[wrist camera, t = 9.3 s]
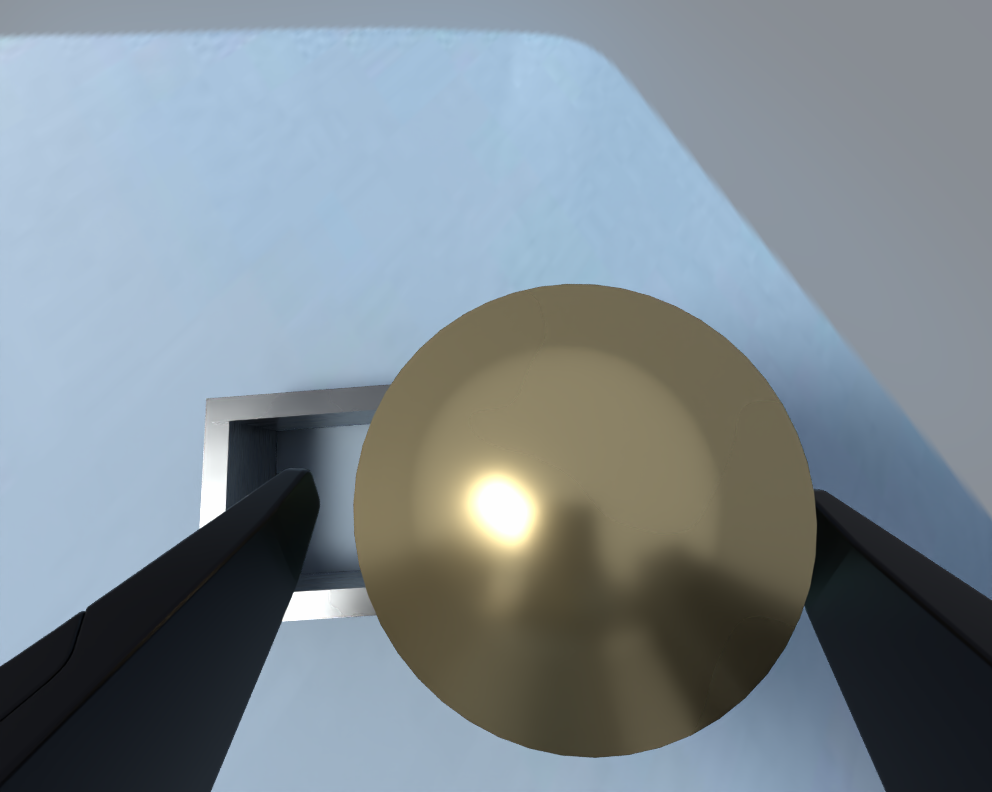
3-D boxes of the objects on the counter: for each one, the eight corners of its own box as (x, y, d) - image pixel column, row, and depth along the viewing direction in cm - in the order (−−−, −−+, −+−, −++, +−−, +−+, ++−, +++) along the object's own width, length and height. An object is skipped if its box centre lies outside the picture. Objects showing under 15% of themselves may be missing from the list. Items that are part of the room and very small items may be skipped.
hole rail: (612, 385, 17) (635, 363, 14) (635, 575, 16) (666, 599, 13) (257, 411, 18) (200, 396, 15) (251, 600, 16) (187, 630, 13)
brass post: (601, 524, 17) (899, 672, 4) (492, 557, 16) (416, 823, 4) (565, 415, 17) (711, 235, 5) (461, 447, 17) (311, 352, 4)
